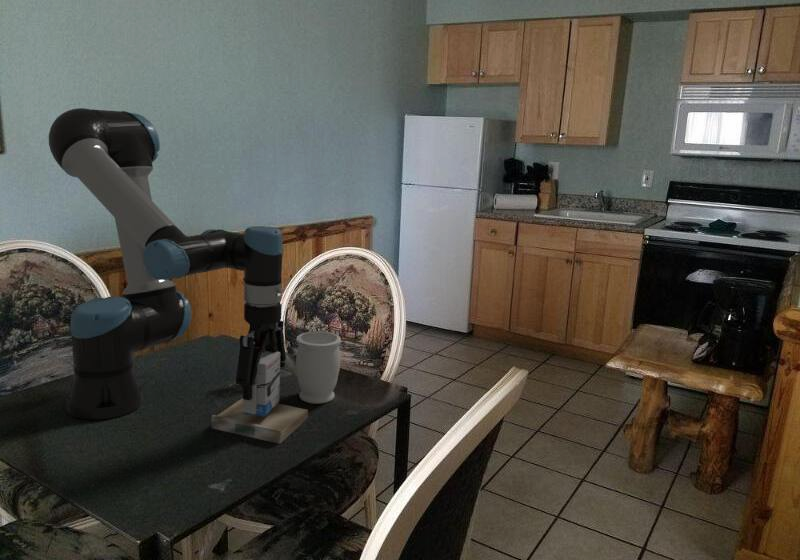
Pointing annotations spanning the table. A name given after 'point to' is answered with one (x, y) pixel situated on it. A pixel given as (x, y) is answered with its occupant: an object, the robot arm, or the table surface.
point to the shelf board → (261, 422)
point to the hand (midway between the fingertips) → (261, 403)
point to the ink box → (267, 382)
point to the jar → (318, 365)
